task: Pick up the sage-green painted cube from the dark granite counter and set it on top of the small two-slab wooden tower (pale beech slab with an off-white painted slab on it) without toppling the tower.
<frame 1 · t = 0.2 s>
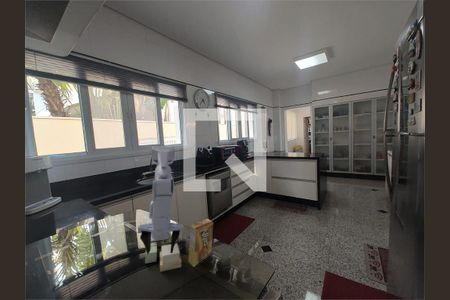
hand: (160, 251, 59), 10 cm above the table, fingers open, 7 cm apart
block: (150, 258, 68), on the table
slab top: (169, 256, 67), point 3 cm above the table, touching slab bottom
candy box: (199, 260, 70), on the table
slab bottom: (170, 263, 67), on the table, touching slab top
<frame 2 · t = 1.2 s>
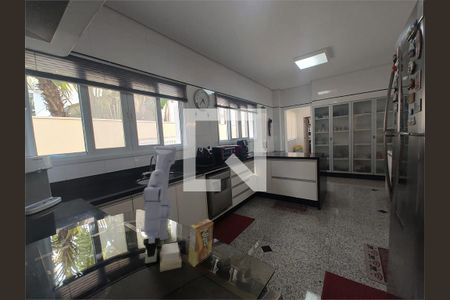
hand: (151, 249, 68), 4 cm above the table, fingers open, 7 cm apart
slab top: (170, 255, 67), point 3 cm above the table
slab bottom: (170, 263, 67), on the table
everything else where it was.
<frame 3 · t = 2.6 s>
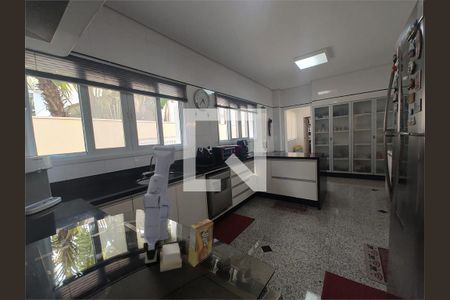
hand: (151, 255, 68), 1 cm above the table, fingers closed on block, 4 cm apart
block: (150, 258, 68), on the table, touching gripper
slab top: (170, 255, 67), point 3 cm above the table, touching slab bottom
slab bottom: (170, 263, 67), on the table, touching slab top
everything else where it was.
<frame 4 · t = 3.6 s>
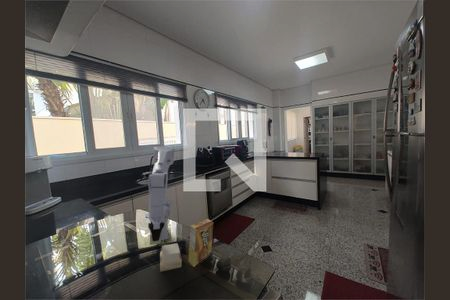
hand: (155, 237, 67), 9 cm above the table, fingers closed on block, 4 cm apart
block: (155, 241, 67), point 8 cm above the table, touching gripper
everything else where it was.
when the fingers open (8 cm above the table, at t = 5.1 s): block stays where it is, resting on slab top.
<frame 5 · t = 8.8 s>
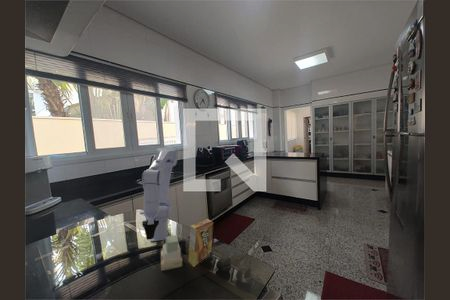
hand: (150, 233, 68), 10 cm above the table, fingers open, 7 cm apart
block: (171, 248, 67), point 6 cm above the table, touching slab top
slab top: (171, 255, 67), point 3 cm above the table, touching block, slab bottom
everything else where it was.
at the end: block 0.5 cm off-centre on the slab top, point 3.0 cm above the slab top's base; block tilted 0°; slab top moved 0.7 cm from its start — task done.
